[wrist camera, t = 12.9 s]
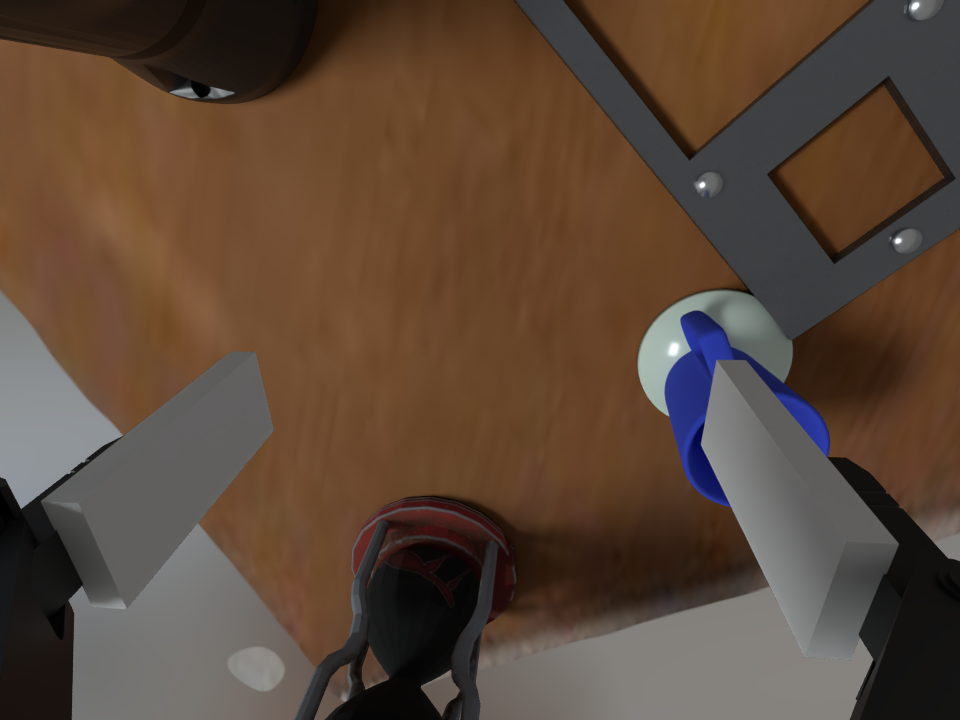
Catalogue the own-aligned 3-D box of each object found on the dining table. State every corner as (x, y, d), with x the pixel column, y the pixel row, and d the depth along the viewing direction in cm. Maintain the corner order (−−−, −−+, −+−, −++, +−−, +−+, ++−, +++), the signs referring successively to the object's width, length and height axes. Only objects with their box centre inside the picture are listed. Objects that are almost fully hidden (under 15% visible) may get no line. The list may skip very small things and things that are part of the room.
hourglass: (425, 640, 56) (343, 985, 34) (323, 540, 52) (153, 855, 29) (550, 583, 51) (554, 946, 28) (448, 467, 47) (357, 781, 24)
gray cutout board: (511, -3, 32) (509, -9, 31) (776, -310, 26) (787, -333, 25) (785, 335, 39) (793, 342, 38) (1051, 155, 32) (1072, 156, 31)
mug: (733, 265, 36) (796, 309, 27) (777, 407, 40) (845, 487, 31) (619, 310, 39) (642, 365, 30) (671, 440, 42) (705, 525, 33)
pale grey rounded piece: (607, 352, 41) (608, 356, 40) (732, 257, 37) (735, 259, 36) (692, 444, 43) (695, 449, 43) (817, 364, 39) (823, 368, 39)
